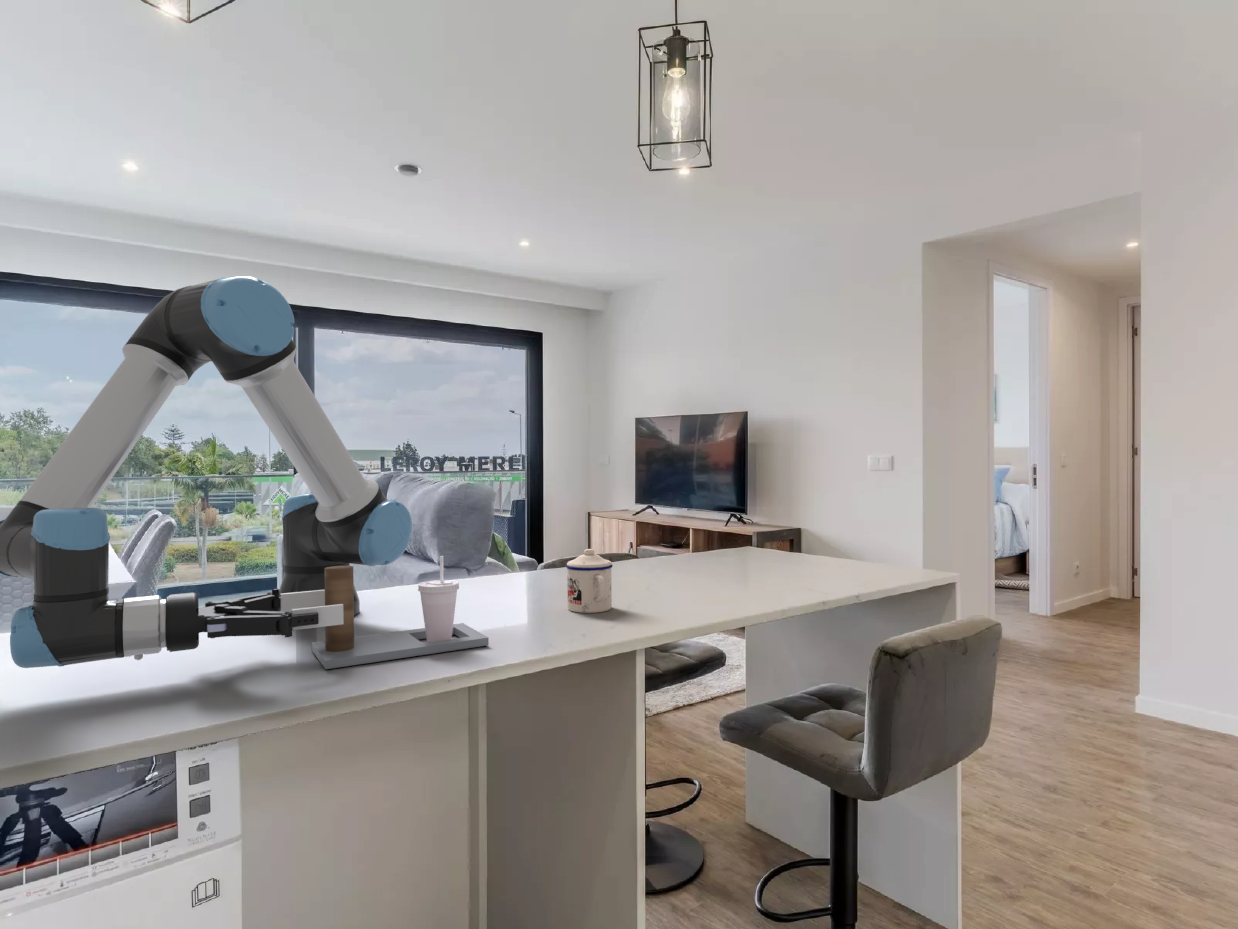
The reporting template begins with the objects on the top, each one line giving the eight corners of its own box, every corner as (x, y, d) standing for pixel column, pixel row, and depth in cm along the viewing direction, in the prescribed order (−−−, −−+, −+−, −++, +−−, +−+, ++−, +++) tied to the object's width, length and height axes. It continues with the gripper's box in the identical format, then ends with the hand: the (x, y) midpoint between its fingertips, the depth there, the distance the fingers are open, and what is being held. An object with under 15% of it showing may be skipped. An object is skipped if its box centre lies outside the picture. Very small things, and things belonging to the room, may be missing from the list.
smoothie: (449, 649, 111) (448, 559, 111) (410, 647, 112) (410, 558, 112) (466, 639, 117) (465, 553, 117) (429, 638, 118) (428, 553, 118)
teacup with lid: (560, 606, 143) (559, 548, 143) (602, 602, 147) (602, 545, 147) (580, 618, 132) (580, 555, 132) (626, 614, 136) (625, 552, 136)
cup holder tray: (311, 650, 110) (311, 564, 110) (463, 630, 123) (462, 553, 123) (325, 669, 100) (324, 574, 100) (488, 645, 113) (487, 561, 113)
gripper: (166, 633, 106) (321, 615, 117) (161, 675, 84) (351, 649, 95) (166, 582, 106) (320, 569, 117) (161, 612, 84) (350, 593, 95)
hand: (334, 605), depth 106 cm, fingers open, 13 cm apart
